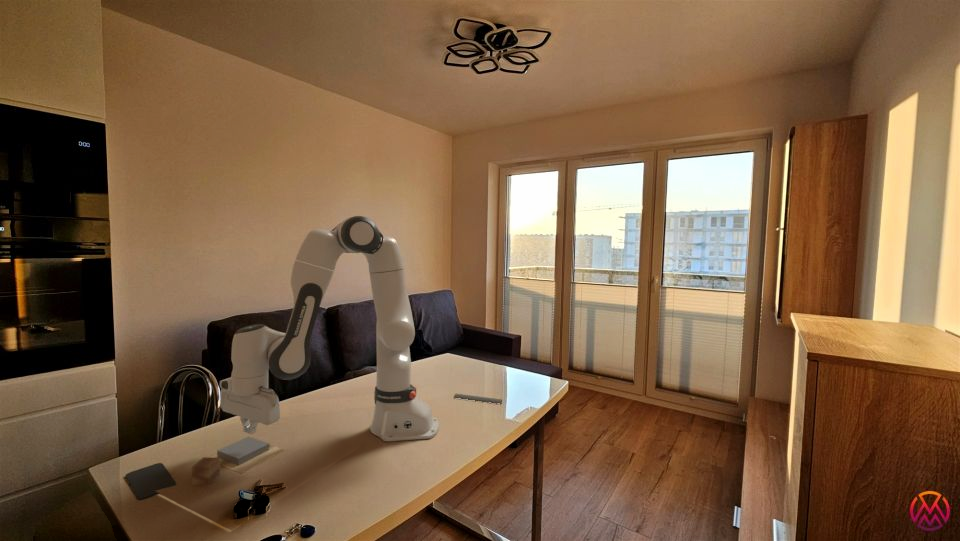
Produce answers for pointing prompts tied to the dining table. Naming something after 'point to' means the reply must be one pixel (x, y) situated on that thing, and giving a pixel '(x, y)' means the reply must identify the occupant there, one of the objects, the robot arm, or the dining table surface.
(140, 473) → the phone
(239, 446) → the slate tile
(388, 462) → the dining table surface
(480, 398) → the grey toothed bar
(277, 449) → the cork board
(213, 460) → the walnut block
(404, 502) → the dining table surface
